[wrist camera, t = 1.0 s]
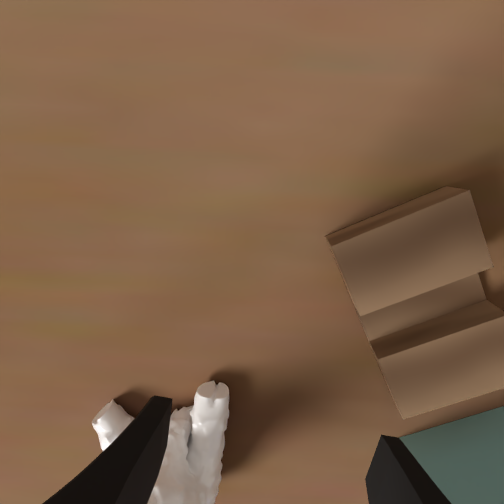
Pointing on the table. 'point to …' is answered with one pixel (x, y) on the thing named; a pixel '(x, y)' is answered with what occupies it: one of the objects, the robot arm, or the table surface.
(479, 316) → the slot block
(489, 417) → the teal rectangular block
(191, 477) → the sitting furry creature
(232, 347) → the table surface
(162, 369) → the table surface
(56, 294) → the table surface
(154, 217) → the table surface
